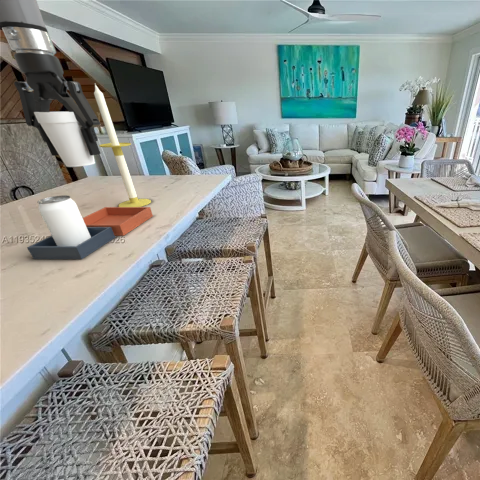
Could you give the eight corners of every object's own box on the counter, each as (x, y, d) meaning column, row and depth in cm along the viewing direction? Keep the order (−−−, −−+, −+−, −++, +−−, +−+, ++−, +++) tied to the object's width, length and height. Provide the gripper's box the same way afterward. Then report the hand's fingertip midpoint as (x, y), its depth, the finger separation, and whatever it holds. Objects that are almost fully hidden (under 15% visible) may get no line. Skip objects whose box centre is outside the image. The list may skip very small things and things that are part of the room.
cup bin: (71, 235, 72) (66, 225, 70) (108, 216, 84) (105, 207, 83) (123, 235, 72) (119, 225, 70) (153, 216, 84) (150, 207, 83)
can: (52, 250, 63) (26, 202, 58) (79, 238, 69) (59, 193, 63) (73, 253, 62) (48, 204, 57) (99, 241, 68) (79, 195, 62)
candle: (119, 210, 89) (71, 81, 72) (117, 202, 96) (74, 83, 79) (152, 204, 94) (116, 82, 77) (149, 197, 101) (114, 84, 84)
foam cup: (57, 164, 72) (33, 111, 67) (98, 160, 78) (80, 111, 72) (59, 169, 66) (34, 112, 60) (104, 164, 72) (85, 111, 66)
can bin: (33, 259, 61) (26, 247, 59) (73, 237, 71) (68, 227, 69) (82, 259, 61) (76, 247, 59) (115, 237, 71) (111, 226, 69)
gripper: (-32, 51, 58) (21, 157, 68) (69, 51, 58) (107, 156, 68) (4, 57, 64) (48, 152, 74) (95, 56, 64) (126, 152, 75)
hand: (76, 154), depth 71 cm, fingers closed on foam cup, 9 cm apart
